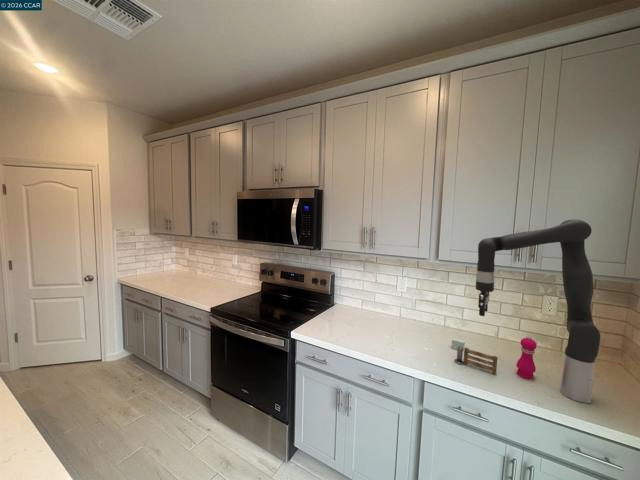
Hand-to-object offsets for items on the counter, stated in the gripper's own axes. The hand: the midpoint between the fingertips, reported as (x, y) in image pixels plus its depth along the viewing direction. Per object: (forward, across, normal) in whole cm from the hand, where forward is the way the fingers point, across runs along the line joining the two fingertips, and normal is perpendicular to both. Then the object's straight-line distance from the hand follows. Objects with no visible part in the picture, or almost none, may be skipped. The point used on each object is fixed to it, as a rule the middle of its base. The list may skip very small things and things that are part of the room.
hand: (483, 313), depth 131 cm
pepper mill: (+29, +8, -17) cm, 35 cm away
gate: (+28, 0, +1) cm, 28 cm away
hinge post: (+28, 0, +10) cm, 30 cm away
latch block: (+28, +15, +14) cm, 35 cm away
